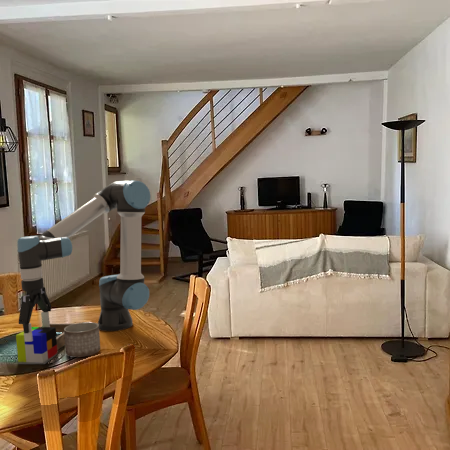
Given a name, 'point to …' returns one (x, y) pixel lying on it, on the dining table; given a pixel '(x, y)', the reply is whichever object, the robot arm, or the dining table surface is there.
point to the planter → (82, 339)
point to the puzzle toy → (37, 345)
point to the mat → (37, 363)
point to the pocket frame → (61, 337)
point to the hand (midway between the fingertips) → (37, 334)
